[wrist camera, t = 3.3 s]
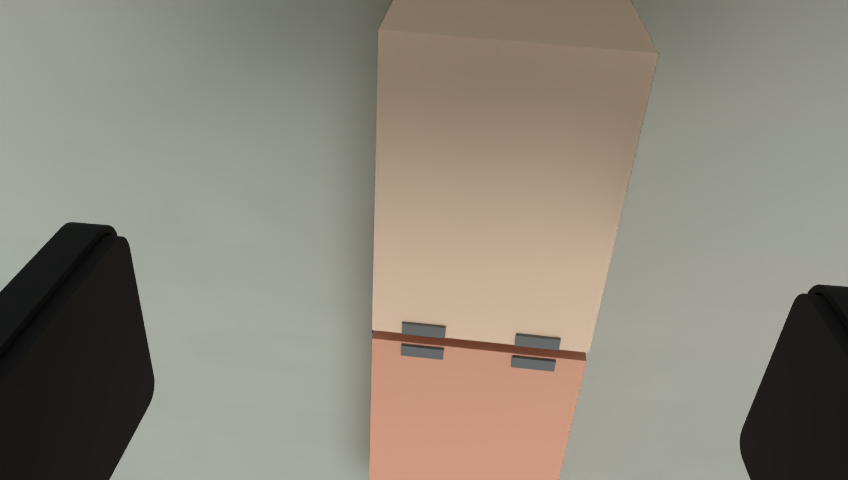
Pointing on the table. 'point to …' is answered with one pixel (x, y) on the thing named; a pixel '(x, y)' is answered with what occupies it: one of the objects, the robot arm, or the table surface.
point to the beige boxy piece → (503, 165)
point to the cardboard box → (469, 409)
